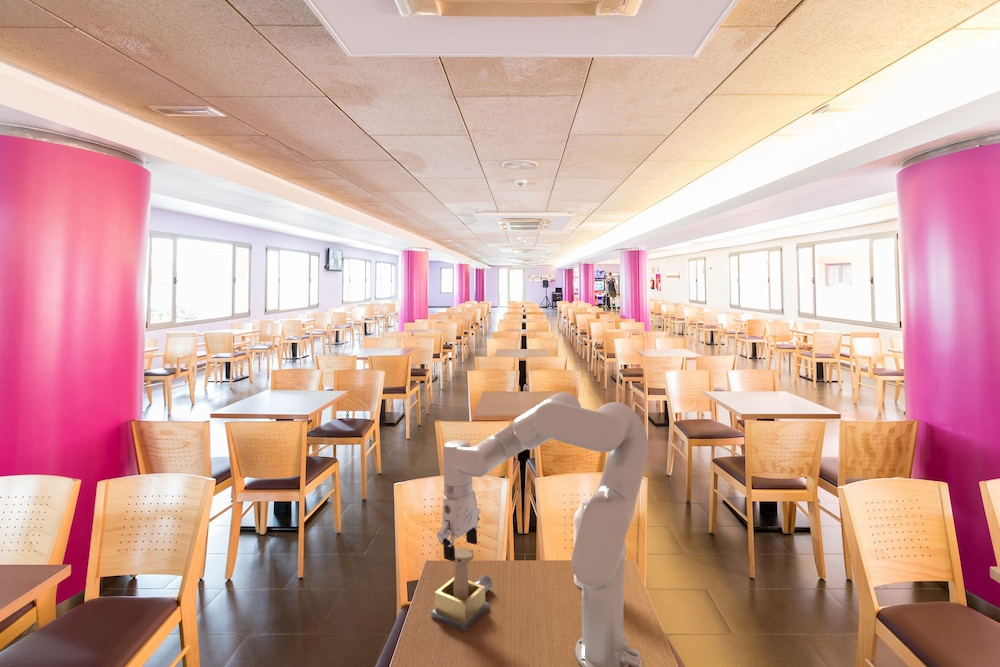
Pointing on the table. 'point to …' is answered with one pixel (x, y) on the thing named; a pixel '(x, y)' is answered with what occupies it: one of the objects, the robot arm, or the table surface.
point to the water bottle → (577, 522)
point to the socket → (462, 604)
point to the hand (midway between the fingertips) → (461, 551)
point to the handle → (461, 572)
